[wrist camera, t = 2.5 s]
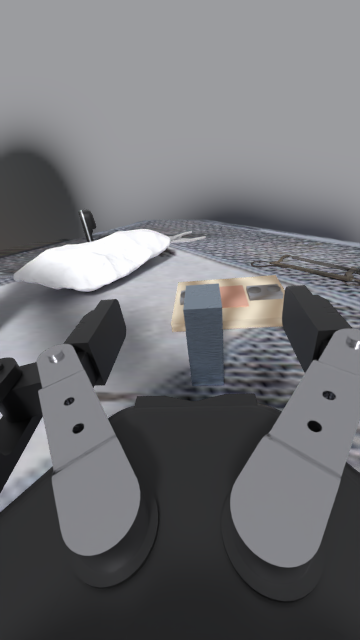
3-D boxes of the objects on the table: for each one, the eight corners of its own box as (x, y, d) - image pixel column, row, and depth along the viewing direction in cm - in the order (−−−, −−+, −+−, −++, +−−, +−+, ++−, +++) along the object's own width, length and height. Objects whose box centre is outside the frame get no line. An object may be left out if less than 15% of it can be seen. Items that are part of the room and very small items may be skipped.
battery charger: (102, 248, 79) (91, 210, 73) (90, 251, 78) (78, 212, 72) (100, 243, 85) (89, 207, 78) (88, 246, 84) (77, 209, 78)
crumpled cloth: (18, 277, 61) (0, 241, 55) (145, 240, 75) (141, 209, 69) (37, 330, 46) (14, 289, 40) (190, 272, 60) (190, 235, 54)
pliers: (205, 233, 76) (160, 245, 71) (206, 238, 77) (161, 250, 72) (190, 228, 84) (148, 238, 79) (191, 233, 85) (149, 243, 80)
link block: (192, 385, 28) (183, 309, 23) (193, 355, 32) (185, 285, 27) (223, 385, 28) (222, 307, 22) (220, 354, 32) (218, 283, 26)
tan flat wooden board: (172, 331, 37) (170, 317, 36) (179, 289, 49) (177, 277, 47) (299, 325, 35) (301, 310, 34) (274, 282, 47) (275, 270, 45)
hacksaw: (396, 281, 43) (399, 273, 42) (366, 303, 38) (369, 294, 37) (276, 253, 60) (277, 247, 59) (246, 266, 56) (247, 259, 55)
